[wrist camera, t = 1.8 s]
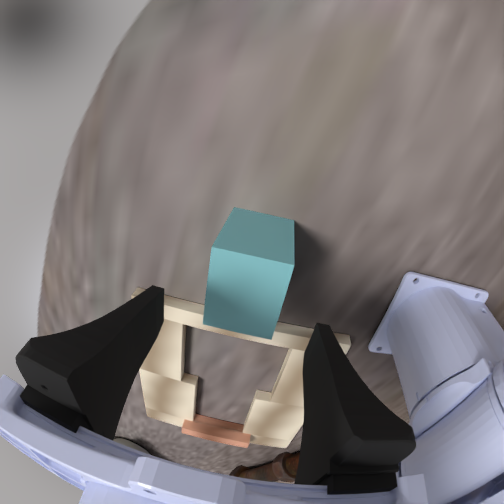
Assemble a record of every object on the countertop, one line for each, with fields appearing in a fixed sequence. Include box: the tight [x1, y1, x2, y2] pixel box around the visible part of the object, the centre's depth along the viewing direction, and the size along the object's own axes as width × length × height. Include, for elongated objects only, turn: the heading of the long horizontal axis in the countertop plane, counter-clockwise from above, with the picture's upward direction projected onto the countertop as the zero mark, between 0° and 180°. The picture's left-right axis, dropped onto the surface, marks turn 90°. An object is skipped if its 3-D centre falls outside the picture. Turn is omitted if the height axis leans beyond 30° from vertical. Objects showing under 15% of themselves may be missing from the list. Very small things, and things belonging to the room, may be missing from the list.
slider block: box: [203, 207, 294, 340], centre depth 18 cm, size 4×5×6 cm
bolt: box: [229, 452, 300, 483], centre depth 34 cm, size 6×5×15 cm
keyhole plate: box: [132, 288, 351, 448], centre depth 27 cm, size 18×20×2 cm
